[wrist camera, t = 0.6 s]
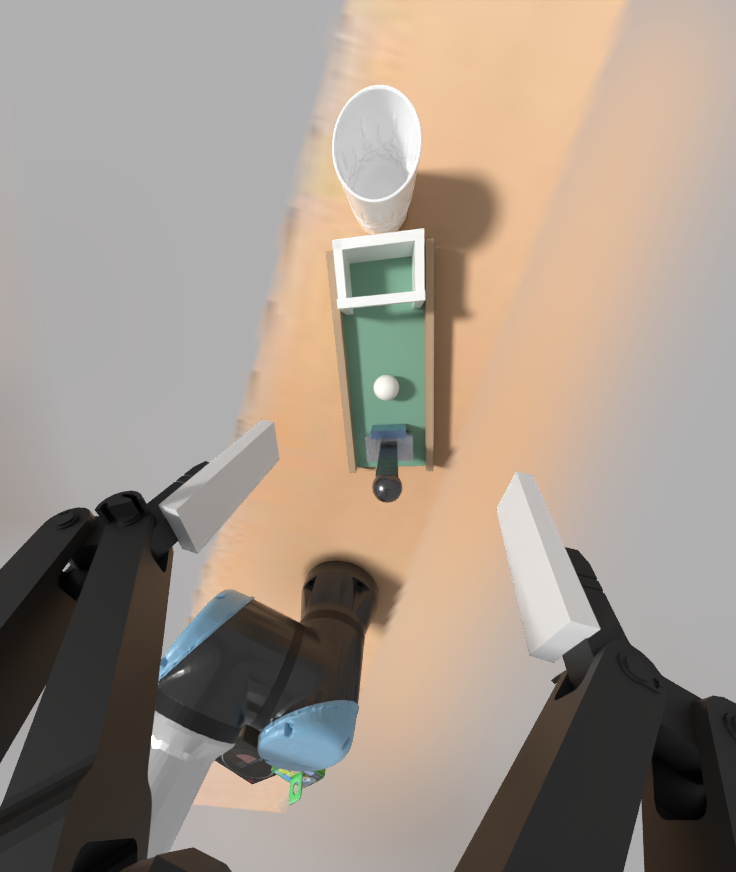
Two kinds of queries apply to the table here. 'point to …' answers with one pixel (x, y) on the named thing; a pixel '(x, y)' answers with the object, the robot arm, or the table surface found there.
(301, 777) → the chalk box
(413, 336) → the pitch
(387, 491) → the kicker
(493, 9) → the table surface
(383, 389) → the ball
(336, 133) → the white cup
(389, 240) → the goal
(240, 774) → the flat black box
